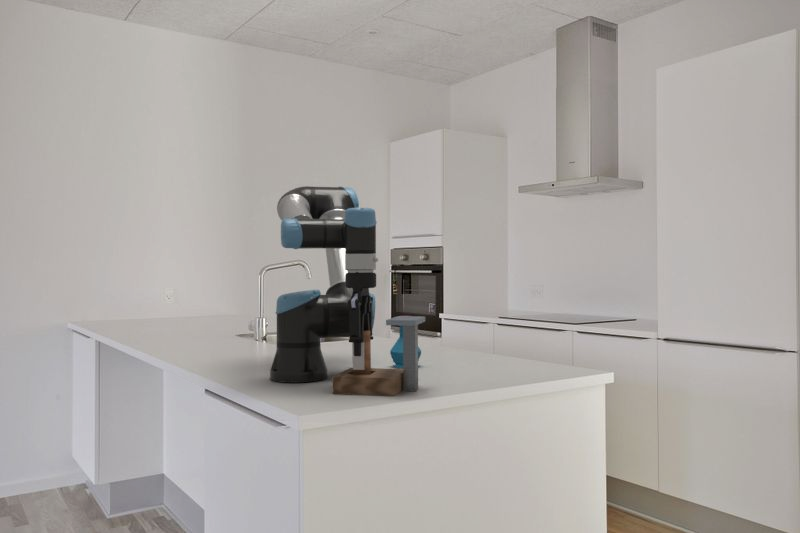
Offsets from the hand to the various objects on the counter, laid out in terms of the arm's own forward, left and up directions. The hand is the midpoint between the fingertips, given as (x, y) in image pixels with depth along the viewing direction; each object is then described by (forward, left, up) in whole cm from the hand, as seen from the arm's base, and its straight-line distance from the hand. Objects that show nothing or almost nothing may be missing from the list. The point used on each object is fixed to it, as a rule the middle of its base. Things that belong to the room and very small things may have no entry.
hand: (361, 367), depth 162 cm
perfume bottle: (+3, +37, -5) cm, 38 cm away
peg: (0, 0, -5) cm, 5 cm away
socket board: (+3, 0, -5) cm, 6 cm away
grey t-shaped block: (+11, +1, -5) cm, 12 cm away
